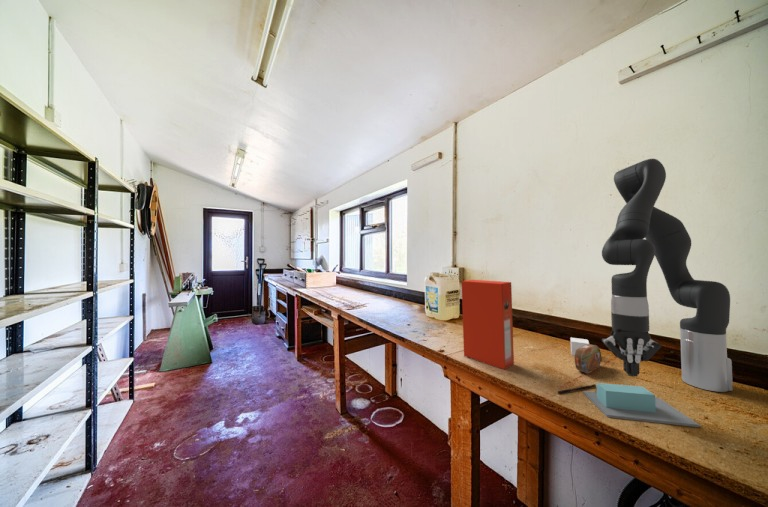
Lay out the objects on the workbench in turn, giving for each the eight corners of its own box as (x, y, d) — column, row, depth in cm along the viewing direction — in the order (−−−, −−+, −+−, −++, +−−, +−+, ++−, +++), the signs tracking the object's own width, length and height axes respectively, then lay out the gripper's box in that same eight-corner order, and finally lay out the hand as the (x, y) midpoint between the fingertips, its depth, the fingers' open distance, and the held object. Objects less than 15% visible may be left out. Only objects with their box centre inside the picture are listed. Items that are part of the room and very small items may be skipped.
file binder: (503, 370, 95) (501, 283, 95) (463, 356, 108) (461, 280, 109) (513, 364, 100) (511, 282, 100) (474, 351, 113) (472, 279, 114)
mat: (659, 400, 74) (659, 398, 74) (699, 427, 62) (699, 424, 62) (583, 393, 78) (583, 391, 78) (607, 417, 67) (606, 414, 67)
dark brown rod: (558, 395, 78) (558, 391, 78) (557, 394, 78) (557, 391, 78) (595, 387, 82) (595, 384, 82) (594, 387, 82) (594, 384, 82)
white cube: (589, 358, 104) (589, 343, 104) (571, 355, 107) (571, 341, 107) (588, 353, 109) (587, 339, 109) (570, 351, 112) (570, 337, 112)
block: (642, 386, 71) (596, 382, 74) (655, 395, 67) (605, 390, 70) (643, 402, 71) (597, 398, 74) (655, 412, 67) (606, 407, 70)
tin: (583, 376, 89) (582, 351, 89) (573, 372, 92) (572, 349, 92) (602, 366, 97) (601, 343, 97) (592, 363, 99) (591, 341, 99)
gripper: (648, 309, 73) (650, 371, 72) (593, 308, 76) (595, 367, 76) (670, 315, 65) (673, 384, 65) (609, 314, 68) (611, 379, 68)
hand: (631, 375), depth 70 cm, fingers closed
